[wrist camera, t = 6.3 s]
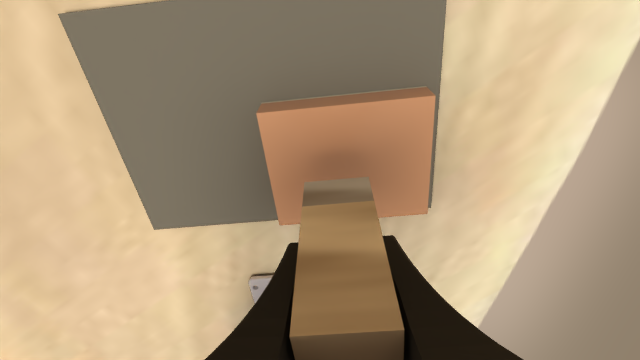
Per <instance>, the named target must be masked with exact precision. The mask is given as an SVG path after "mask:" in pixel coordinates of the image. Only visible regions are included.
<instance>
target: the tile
mask: <svg viewBox="0 0 640 360" xmlns="http://www.w3.org/2000/svg"><path fill="white" fill-rule="evenodd" d="M435 97H436V96H435V95H434V94H433V93H432V92H431V91H430V90H429V89H428V88H427V87H426V86H421V87H411V88H401V89H392V90H382V91H372V92H362V93H352V94H342V95H332V96H322V97H312V98H302V99H292V100H283V101H273V102H263V103H261V105H260V107H259V109H258V111H257V113H256V115H257V120H258V124H259V129H260V134H261V139H262V144H263V148H264V153H265V158H266V163H267V168H268V172H269V177H270V182H271V187H272V192H273V197H274V201H275V206H276V211H277V216H278V221H279V225H290V224H300V223H301V212H302V202H303V192H304V182H313V181H324V180H336V179H347V178H359V177H369V181H370V185H371V189H372V193H373V198H374V202H375V206H376V211H377V215H378V218H379V217H392V216H405V215H418V214H427V213H428V199H429V184H430V170H431V155H432V141H433V126H434V111H435Z"/></svg>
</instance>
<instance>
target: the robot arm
mask: <svg viewBox="0 0 640 360" xmlns="http://www.w3.org/2000/svg"><path fill="white" fill-rule="evenodd" d="M383 241H384V245H385V249H386V253H387V258H388V262H389V266H390V270H391V275H392V279H393V283H394V288H395V292H396V296H397V300H398V305H399V309H400V313H401V318H402V322H403V326H404V359H403V360H523V359H521V358H520V357H518V356H517V355H515V354H514V353H512V352H511V351H509V350H507V349H506V348H504V347H503V346H501V345H499V344H498V343H497V342H495V341H494V340H492V339H491V338H490V337H488V336H487V335H485V334H484V333H483V332H482V331H480V330H479V329H478V328H477V327H475V326H474V325H473V324H472V323H470V322H469V321H468V320H467V319H465V318H464V317H463V316H462V315H461V314H459V313H458V312H457V311H456V310H455V309H454V308H453V307H452V306H451V305H450V304H448V303H447V302H446V301H445V300H444V299H443V298H442V297H441V296H440V295H439V294H438V293H437V292H436V291H435V289H434V288H433V287H432V286H431V285H430V284H429V283H428V282H427V281H426V279H425V278H424V277H423V276H422V275H421V274H420V272H419V271H418V270H417V268H416V267H415V266H414V265H413V263H412V262H411V261H410V259H409V258H408V257H407V255H406V254H405V252H404V251H403V249H402V248H401V246H400V245H399V243H398V242H397V240H396V238H395V237H394V236H393V235H391V236H383ZM297 254H298V243H290V244H289V245H288V247H287V249H286V251H285V254H284V256H283V258H282V260H281V262H280V264H279V266H278V268H277V269H276V271H275V273H274V275H266V276H253V277H251V278H250V279H249V286H250V290H251V293H252V296H253V300H254V303H255V305H254V306H253V307H252V309H251V310H250V311H249V312H248V314H247V315H246V316H245V318H244V319H243V320H242V321H241V322H240V324H239V325H238V326H237V327H236V328H235V329H234V331H233V332H232V333H231V334H230V335H229V336H228V337H227V338H226V339H225V340H224V341H223V342H222V343H221V344H220V345H219V346H218V347H217V348H216V349H215V350H214V351H213V352H212V353H211V354H210V355H209V356H208V357H207V358H206V359H205V360H295V357H294V353H293V349H292V345H291V341H290V326H291V316H292V306H293V295H294V285H295V275H296V264H297Z"/></svg>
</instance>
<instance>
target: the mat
mask: <svg viewBox="0 0 640 360" xmlns="http://www.w3.org/2000/svg"><path fill="white" fill-rule="evenodd" d="M445 14H446V0H169V1H161V2H153V3H144V4H136V5H128V6H120V7H112V8H103V9H95V10H87V11H79V12H70V13H62V14H58V15H59V18H60V20H61V22H62V24H63V27H64V29H65V31H66V33H67V36H68V38H69V40H70V42H71V45H72V47H73V49H74V51H75V54H76V56H77V58H78V60H79V62H80V65H81V67H82V69H83V71H84V74H85V76H86V78H87V80H88V83H89V85H90V87H91V89H92V92H93V94H94V96H95V98H96V101H97V103H98V105H99V107H100V109H101V112H102V114H103V116H104V118H105V121H106V123H107V125H108V127H109V130H110V132H111V134H112V136H113V139H114V141H115V143H116V145H117V148H118V150H119V152H120V154H121V156H122V159H123V161H124V163H125V165H126V168H127V170H128V172H129V174H130V177H131V179H132V181H133V183H134V186H135V188H136V190H137V192H138V195H139V197H140V199H141V201H142V203H143V206H144V208H145V210H146V212H147V215H148V217H149V219H150V221H151V224H152V226H153V228H154V230H156V229H169V228H182V227H194V226H207V225H220V224H232V223H245V222H257V221H270V220H278V216H277V211H276V206H275V201H274V197H273V192H272V187H271V182H270V177H269V172H268V168H267V163H266V158H265V153H264V148H263V144H262V139H261V134H260V129H259V124H258V120H257V115H256V113H257V111H258V109H259V107H260V105H261V103H263V102H273V101H283V100H292V99H302V98H312V97H322V96H332V95H342V94H352V93H362V92H372V91H382V90H392V89H401V88H411V87H421V86H426V87H427V88H428V89H429V90H430V91H431V92H432V93H433V94H434V95H435V96H436V97H435V111H434V126H433V141H432V155H431V170H430V184H429V199H428V208H431V201H432V188H433V175H434V161H435V148H436V134H437V121H438V108H439V94H440V81H441V67H442V54H443V41H444V27H445Z"/></svg>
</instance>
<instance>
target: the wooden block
mask: <svg viewBox="0 0 640 360" xmlns="http://www.w3.org/2000/svg"><path fill="white" fill-rule="evenodd" d="M290 341H291V345H292V349H293V353H294V357H295V360H403V359H404V326H403V322H402V318H401V313H400V309H399V305H398V300H397V296H396V292H395V288H394V283H393V279H392V275H391V270H390V266H389V262H388V258H387V253H386V249H385V245H384V241H383V236H382V232H381V228H380V223H379V219H378V215H377V211H376V206H375V202H374V198H373V193H372V189H371V185H370V181H369V177H359V178H347V179H336V180H324V181H313V182H304V192H303V202H302V212H301V223H300V233H299V243H298V254H297V264H296V275H295V285H294V295H293V306H292V316H291V326H290Z"/></svg>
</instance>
